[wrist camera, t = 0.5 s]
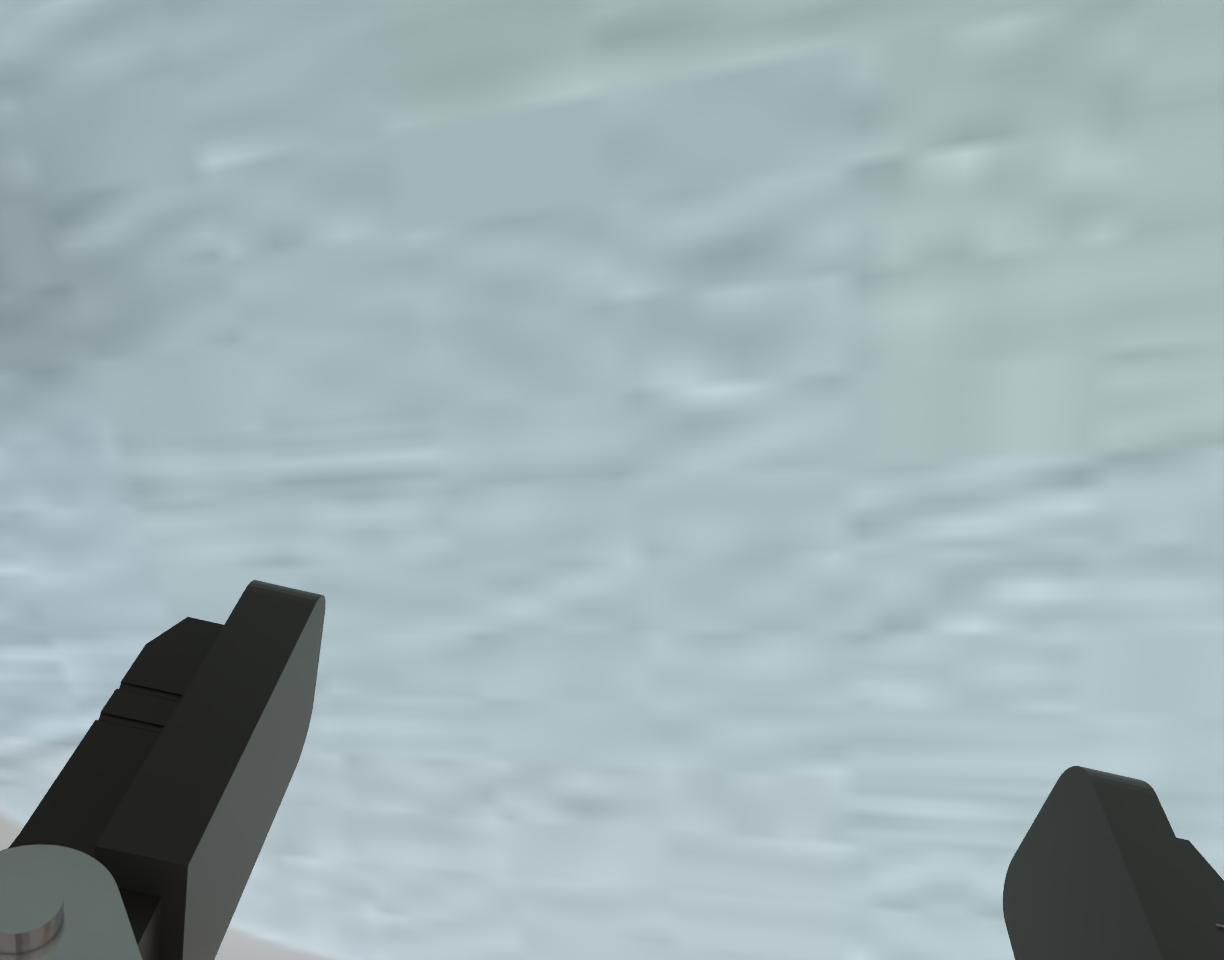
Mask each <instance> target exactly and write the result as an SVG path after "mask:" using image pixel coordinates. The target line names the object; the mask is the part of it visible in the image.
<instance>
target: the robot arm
mask: <svg viewBox="0 0 1224 960" xmlns="http://www.w3.org/2000/svg"><path fill="white" fill-rule="evenodd" d="M324 615H325V597H324V596H323V595H319V594H315V593H310V592H306V591H301V590H297V589H293V588H288V587H284V586H279V585H275V584H270V583H266V582H261V581H257V580H253V581H252V582H250V584H249V585H248V586H247V588H246V589H245V591H244V592H243V594H242V596H241V598H240V599H239V601H238V603H237V604H236V606H235V608H234V609H233V611H232V613H231V615H230V616H229V618H228V620H227V621H226V623H225V625H222V624H217V623H213V622H208V621H204V620H199V619H195V618H190V617H187V618H185V619H184V620H182V621H181V622H179V623H178V624H176V625H175V626H173V627H172V628H170V629H169V630H167V631H166V632H164V633H163V634H161V635H160V636H158V637H157V638H155V639H153V640H152V641H150V642H149V643H147V644H146V645H145V647H144V648H143V650H142V651H141V653H140V654H139V656H138V657H137V659H136V660H135V662H134V663H133V665H132V666H131V668H130V669H129V671H128V672H127V674H126V675H125V677H124V678H123V680H122V681H121V685H120V688H119V689H116V690H115V692H114V693H113V695H112V696H111V698H110V699H109V701H108V702H107V704H106V705H105V707H104V708H103V710H102V711H101V714H100V718H99V720H95V722H94V723H93V725H92V726H91V728H90V729H89V731H88V732H87V734H86V735H85V737H84V738H83V740H82V741H81V743H80V744H79V746H78V747H77V749H76V750H75V752H74V753H73V755H72V756H71V758H70V759H69V760H68V762H67V763H66V765H65V766H64V768H63V769H62V771H61V772H60V774H59V775H58V777H57V778H56V780H55V781H54V783H53V784H52V786H51V787H50V789H49V790H48V792H47V793H46V795H45V796H44V798H43V799H42V801H41V802H40V804H39V805H38V807H37V808H36V810H35V811H34V813H33V814H32V816H31V817H30V819H29V820H28V822H27V823H26V825H25V826H24V828H23V829H22V831H21V833H20V834H19V835H18V837H17V838H16V839H15V840H14V842H13V843H12V844H11V846H10V847H9V848H8V849H4V850H2V851H0V960H214V959H215V956H216V954H217V952H218V949H219V947H220V944H221V942H222V940H223V938H224V935H225V933H226V931H227V928H228V926H229V923H230V921H231V919H232V916H233V914H234V912H235V909H236V907H237V905H238V902H239V900H240V898H241V895H242V893H243V891H244V888H245V886H246V884H247V881H248V879H249V876H250V874H251V872H252V869H253V867H254V865H255V862H256V860H257V858H258V855H259V853H260V851H261V848H262V846H263V844H264V841H265V839H266V836H267V834H268V832H269V829H270V827H271V825H272V822H273V820H274V818H275V815H276V813H277V811H278V808H279V806H280V804H281V801H282V799H283V796H284V794H285V792H286V789H287V787H288V785H289V782H290V780H291V778H292V775H293V773H294V771H295V768H296V766H297V763H298V761H299V758H300V755H301V752H302V749H303V746H304V742H305V739H306V735H307V732H308V728H309V723H310V719H311V714H312V709H313V702H314V694H315V686H316V678H317V670H318V662H319V654H320V646H321V639H322V631H323V623H324ZM1003 911H1004V918H1005V923H1006V927H1007V931H1008V934H1009V938H1010V942H1011V945H1012V949H1013V953H1014V957H1015V960H1224V880H1223V879H1222V878H1221V877H1220V876H1219V875H1218V874H1217V872H1216V871H1215V870H1214V869H1213V868H1212V867H1211V865H1210V864H1209V863H1208V862H1207V861H1206V860H1205V859H1204V857H1203V856H1202V855H1201V854H1200V853H1199V852H1198V851H1197V849H1196V848H1195V847H1194V846H1193V845H1192V844H1191V842H1190V841H1189V840H1184V839H1180V838H1176V836H1175V834H1174V832H1173V830H1172V828H1171V826H1170V823H1169V821H1168V819H1167V817H1166V815H1165V812H1164V810H1163V808H1162V806H1161V804H1160V802H1159V799H1158V797H1157V795H1156V793H1155V791H1154V790H1153V788H1152V787H1151V786H1150V785H1149V784H1148V783H1146V782H1145V781H1142V780H1138V779H1133V778H1129V777H1124V776H1120V775H1116V774H1111V773H1107V772H1102V771H1098V770H1093V769H1089V768H1084V767H1080V766H1073V767H1070V768H1068V769H1067V770H1065V772H1064V773H1063V774H1062V775H1061V776H1060V778H1059V779H1058V781H1057V783H1056V784H1055V786H1054V788H1053V789H1052V791H1051V793H1050V795H1049V796H1048V798H1047V800H1046V801H1045V803H1044V805H1043V807H1042V808H1041V810H1040V812H1039V814H1038V815H1037V817H1036V819H1035V820H1034V822H1033V824H1032V826H1031V827H1030V829H1029V831H1028V832H1027V834H1026V836H1025V838H1024V839H1023V841H1022V843H1021V845H1020V846H1019V848H1018V850H1017V851H1016V853H1015V855H1014V857H1013V859H1012V861H1011V863H1010V865H1009V868H1008V871H1007V874H1006V878H1005V884H1004V891H1003Z"/></svg>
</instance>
